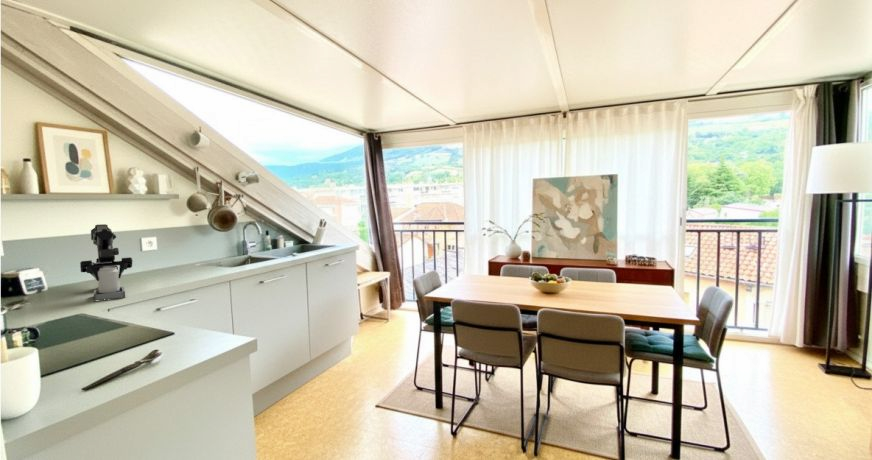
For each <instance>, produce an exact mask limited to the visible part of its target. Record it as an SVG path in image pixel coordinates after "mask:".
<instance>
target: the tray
mask: <svg viewBox="0 0 872 460" xmlns="http://www.w3.org/2000/svg"><path fill="white" fill-rule="evenodd" d="M119 288H120V290H119V291H118V292H114V293H106V294H101V293H100V292H99V290H98V289H94V290H93V301H94V300H104V299H105V300H104V301H109V300H108V299H111V300H110V301H113V300H117V299H125V298H126V292H125V291H126V289H125V287H124V286H119Z"/></svg>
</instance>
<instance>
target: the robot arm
mask: <svg viewBox="0 0 872 460" xmlns="http://www.w3.org/2000/svg"><path fill="white" fill-rule="evenodd" d="M108 226H109V225H108V224H100V223H99V224H95V225H94V228H92V229H90V239H91V241H92V243H93V245H95V246H96V249H97V258H96V261H95V262H93V261H92V260H91V259H90V260H82V261H80V263H79V264H80V265H79V267H80V272H81V273H87V274H90V275H91V276H93V278H94V279H95V280H96V282H98V271H99V270H100V268H103V267H117V268H116V269H118V270H119V280H120V279H121V278H122V275H123V273H124V271H125V270H128V269H131V268H133V258H132V257H128V256H127V257H121V260H117V261H115V260H116V256H119V253H120V251H119V247H114V246H113V243H114V241H115V240H116V238H117V235H116V234H115V233H114V232H113V231H112V229H111V228H110V227H108ZM97 290H99V287H98V286H97Z"/></svg>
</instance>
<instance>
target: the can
mask: <svg viewBox="0 0 872 460" xmlns="http://www.w3.org/2000/svg"><path fill="white" fill-rule="evenodd" d="M116 268H117V267H103V268H100V270H99V271H98V281H97V282H98V283H97V285H98V286H97V288H98V287H99V292H100V293H101V294H106V293H114V292H118V291H119V290H120V288H119V287H120V279H119V268H118V269H116Z"/></svg>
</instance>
